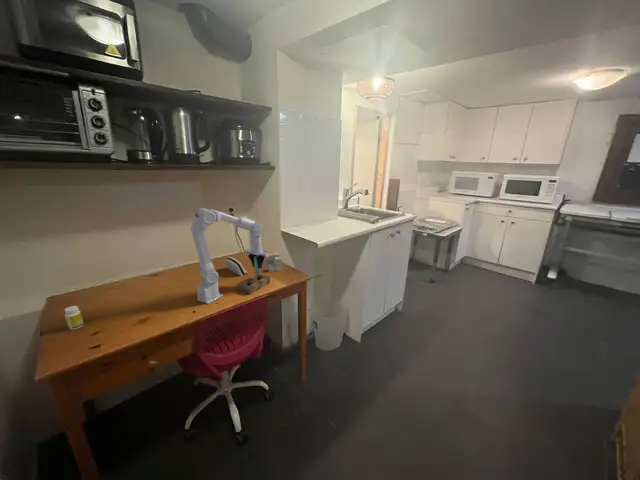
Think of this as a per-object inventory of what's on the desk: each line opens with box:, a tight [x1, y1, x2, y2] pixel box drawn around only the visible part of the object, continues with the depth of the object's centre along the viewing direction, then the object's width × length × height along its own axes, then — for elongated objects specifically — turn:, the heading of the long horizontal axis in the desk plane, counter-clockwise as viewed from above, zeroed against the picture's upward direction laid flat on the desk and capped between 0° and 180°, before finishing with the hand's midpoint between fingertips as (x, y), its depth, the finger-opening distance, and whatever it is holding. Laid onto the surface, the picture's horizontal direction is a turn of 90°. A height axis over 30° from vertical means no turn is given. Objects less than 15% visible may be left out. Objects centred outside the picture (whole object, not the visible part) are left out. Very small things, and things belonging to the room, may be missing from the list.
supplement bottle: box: [64, 305, 84, 331], centre depth 112 cm, size 5×5×8 cm
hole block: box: [236, 273, 271, 295], centre depth 149 cm, size 16×9×4 cm, turn 152°
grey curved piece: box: [223, 256, 249, 277], centre depth 168 cm, size 17×5×10 cm, turn 46°
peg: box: [253, 255, 261, 274], centre depth 149 cm, size 3×3×9 cm
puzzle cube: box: [261, 252, 283, 273], centre depth 174 cm, size 12×12×8 cm
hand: (257, 267), depth 150 cm, fingers closed on peg, 3 cm apart
